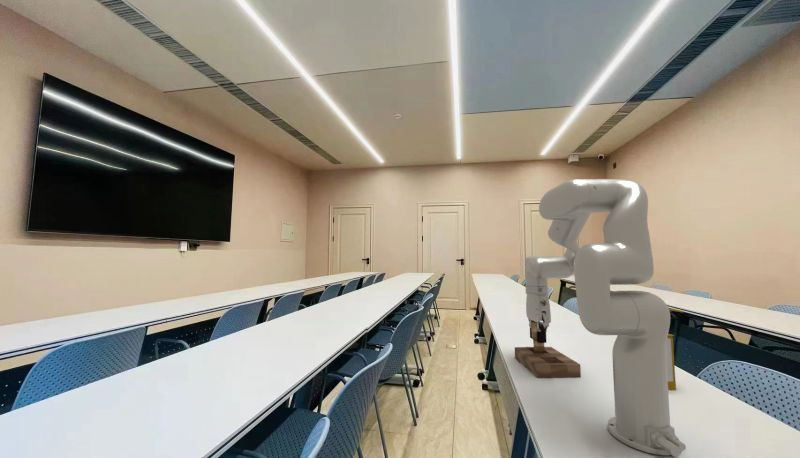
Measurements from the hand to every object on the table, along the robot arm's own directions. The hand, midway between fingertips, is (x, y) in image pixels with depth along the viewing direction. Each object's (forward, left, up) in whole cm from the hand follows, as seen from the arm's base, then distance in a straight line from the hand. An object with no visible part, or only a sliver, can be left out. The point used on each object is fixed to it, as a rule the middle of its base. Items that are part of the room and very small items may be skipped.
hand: (538, 339), depth 112 cm
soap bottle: (-20, -29, -8) cm, 36 cm away
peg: (-1, 0, -4) cm, 4 cm away
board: (-5, 0, -8) cm, 9 cm away
